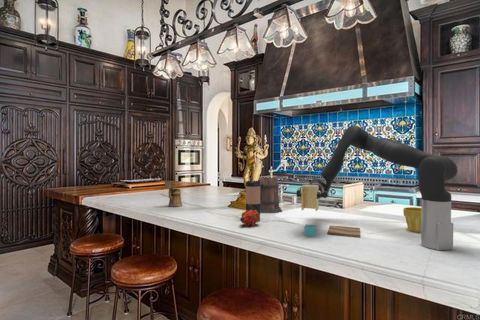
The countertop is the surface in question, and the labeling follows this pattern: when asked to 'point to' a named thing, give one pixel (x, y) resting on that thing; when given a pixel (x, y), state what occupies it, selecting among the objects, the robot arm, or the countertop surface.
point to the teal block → (309, 230)
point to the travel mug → (253, 196)
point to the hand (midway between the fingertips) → (309, 195)
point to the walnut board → (344, 231)
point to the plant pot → (413, 218)
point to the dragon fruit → (250, 217)
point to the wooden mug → (173, 195)
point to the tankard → (269, 195)
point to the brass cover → (309, 196)
